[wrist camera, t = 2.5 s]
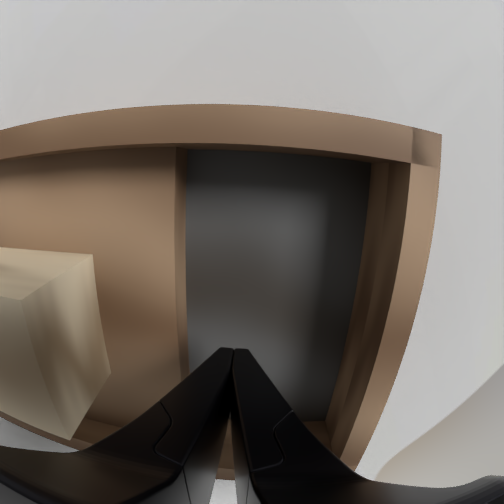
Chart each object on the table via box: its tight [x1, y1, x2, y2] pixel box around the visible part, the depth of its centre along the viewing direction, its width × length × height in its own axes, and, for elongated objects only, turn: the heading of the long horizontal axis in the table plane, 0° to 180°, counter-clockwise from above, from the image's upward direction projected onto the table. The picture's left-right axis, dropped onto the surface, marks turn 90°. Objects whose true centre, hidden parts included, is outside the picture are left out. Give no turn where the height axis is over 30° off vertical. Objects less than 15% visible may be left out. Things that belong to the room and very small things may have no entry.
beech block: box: [0, 247, 111, 440], centre depth 8 cm, size 5×5×4 cm
